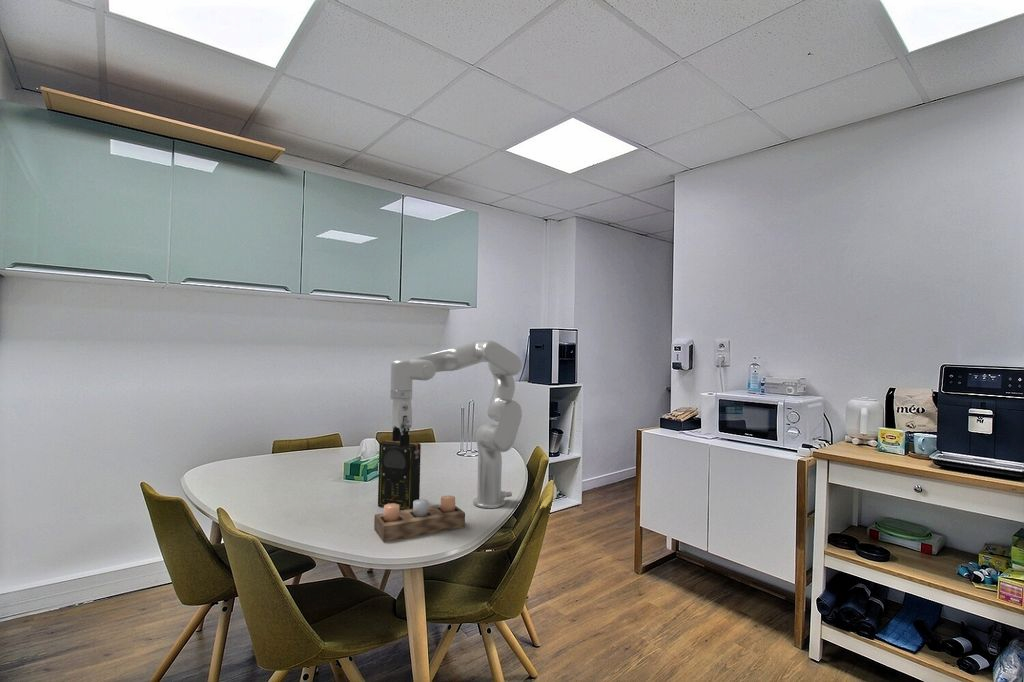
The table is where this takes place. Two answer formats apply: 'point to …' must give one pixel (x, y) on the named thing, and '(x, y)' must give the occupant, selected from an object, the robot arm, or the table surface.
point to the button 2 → (447, 504)
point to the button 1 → (391, 512)
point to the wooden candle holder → (418, 523)
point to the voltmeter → (399, 474)
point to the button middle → (420, 508)
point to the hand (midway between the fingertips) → (400, 443)
